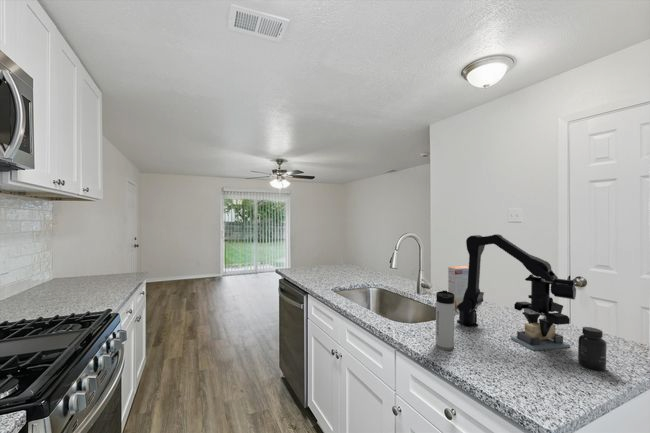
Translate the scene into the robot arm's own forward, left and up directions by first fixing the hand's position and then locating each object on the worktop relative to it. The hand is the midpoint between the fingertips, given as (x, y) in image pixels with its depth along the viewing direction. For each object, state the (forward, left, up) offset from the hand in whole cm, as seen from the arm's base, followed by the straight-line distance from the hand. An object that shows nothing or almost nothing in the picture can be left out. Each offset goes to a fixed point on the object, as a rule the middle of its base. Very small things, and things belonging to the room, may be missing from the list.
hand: (539, 334), depth 114 cm
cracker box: (+1, +48, -3) cm, 48 cm away
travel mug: (-38, +3, -3) cm, 38 cm away
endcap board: (0, 0, -3) cm, 3 cm away
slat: (0, 0, -1) cm, 1 cm away
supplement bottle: (+1, -18, -3) cm, 18 cm away
